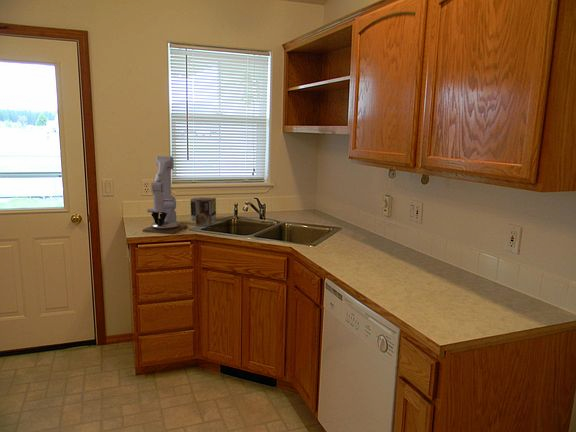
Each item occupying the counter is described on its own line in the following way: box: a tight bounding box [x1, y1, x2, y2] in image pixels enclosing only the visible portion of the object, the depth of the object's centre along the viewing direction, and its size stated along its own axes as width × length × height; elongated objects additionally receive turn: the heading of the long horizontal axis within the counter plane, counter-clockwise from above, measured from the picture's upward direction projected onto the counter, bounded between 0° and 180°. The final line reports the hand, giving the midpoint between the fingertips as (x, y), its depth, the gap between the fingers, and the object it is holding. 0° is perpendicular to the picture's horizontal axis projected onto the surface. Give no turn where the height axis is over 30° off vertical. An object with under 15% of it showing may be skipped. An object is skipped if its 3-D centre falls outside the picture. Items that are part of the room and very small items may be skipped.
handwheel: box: [150, 217, 181, 229], centre depth 276 cm, size 17×17×6 cm
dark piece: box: [190, 196, 217, 222], centre depth 309 cm, size 15×10×15 cm, turn 82°
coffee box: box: [195, 200, 213, 227], centre depth 290 cm, size 9×6×16 cm
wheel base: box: [142, 224, 188, 235], centre depth 277 cm, size 19×20×2 cm
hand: (159, 224), depth 269 cm, fingers open, 3 cm apart
